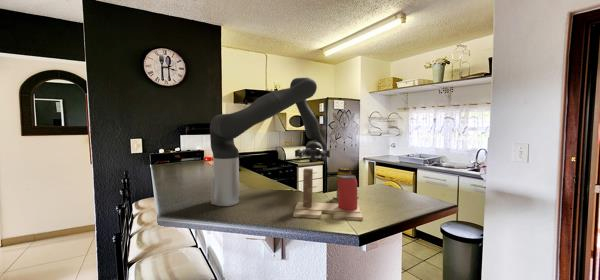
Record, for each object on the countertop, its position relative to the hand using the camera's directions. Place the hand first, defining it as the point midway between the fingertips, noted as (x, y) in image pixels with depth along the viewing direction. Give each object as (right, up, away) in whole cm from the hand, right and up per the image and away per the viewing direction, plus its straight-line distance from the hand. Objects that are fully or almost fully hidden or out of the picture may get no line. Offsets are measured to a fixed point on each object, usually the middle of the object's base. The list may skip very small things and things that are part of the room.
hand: (311, 155), depth 102 cm
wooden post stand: (+5, -18, -10) cm, 21 cm away
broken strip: (+5, -19, -17) cm, 26 cm away
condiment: (+14, -18, +5) cm, 23 cm away
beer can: (+12, -19, -11) cm, 25 cm away
